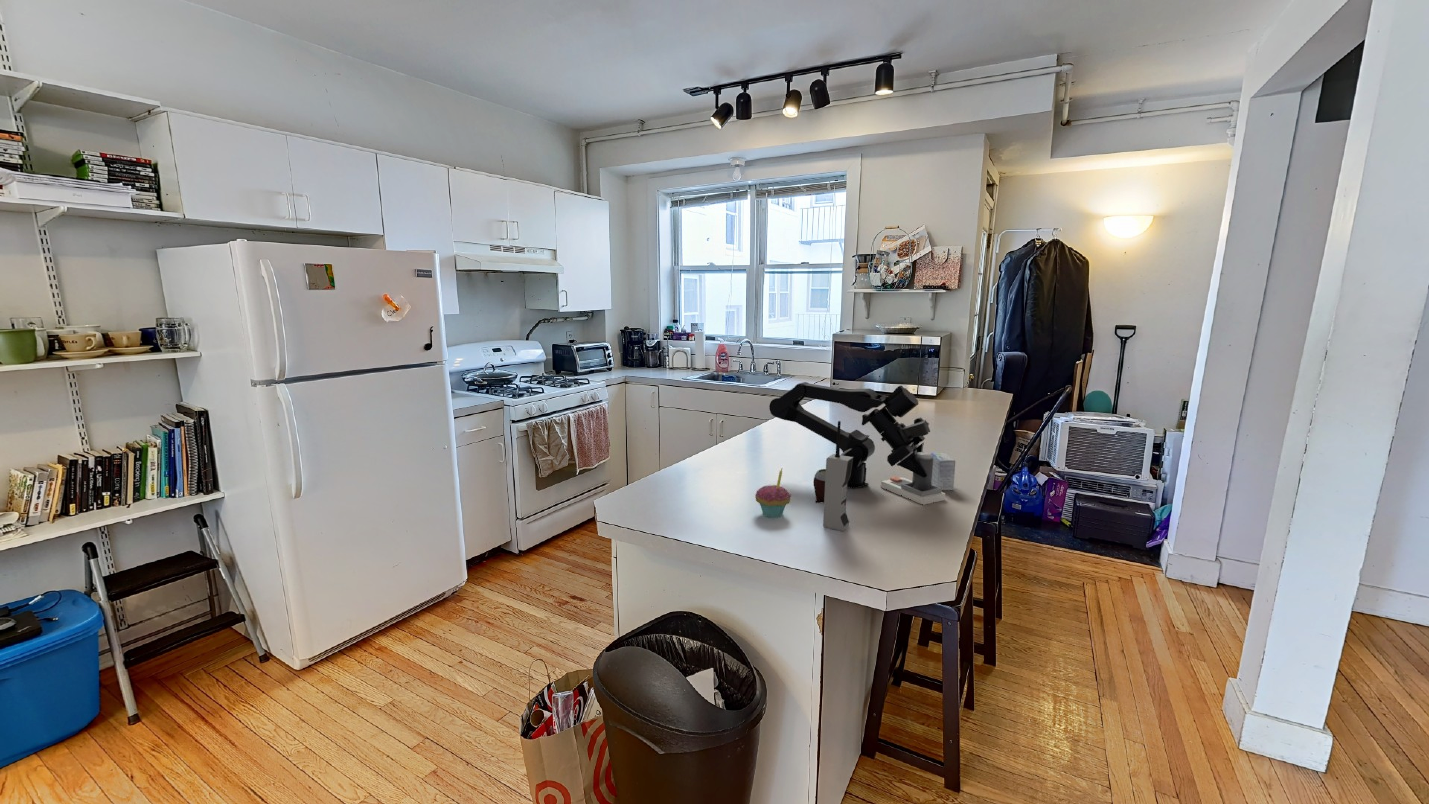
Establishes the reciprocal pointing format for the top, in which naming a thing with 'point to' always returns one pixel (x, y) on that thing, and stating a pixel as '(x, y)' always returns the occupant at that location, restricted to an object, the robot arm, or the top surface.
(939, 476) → the medicine box
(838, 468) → the vintage mobile phone
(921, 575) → the top surface
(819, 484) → the mate gourd
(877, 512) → the top surface
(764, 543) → the top surface
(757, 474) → the top surface
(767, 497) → the cupcake
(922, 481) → the grey cylinder
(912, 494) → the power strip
